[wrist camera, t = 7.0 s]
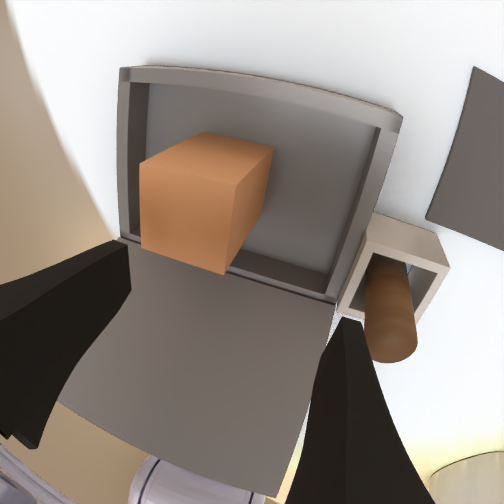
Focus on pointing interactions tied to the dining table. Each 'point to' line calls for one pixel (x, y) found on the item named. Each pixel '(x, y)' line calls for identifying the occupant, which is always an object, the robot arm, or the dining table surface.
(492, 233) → the pad
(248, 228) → the block
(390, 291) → the rod
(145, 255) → the case
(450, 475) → the utensil holder
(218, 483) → the robot arm
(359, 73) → the dining table surface
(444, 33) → the dining table surface
